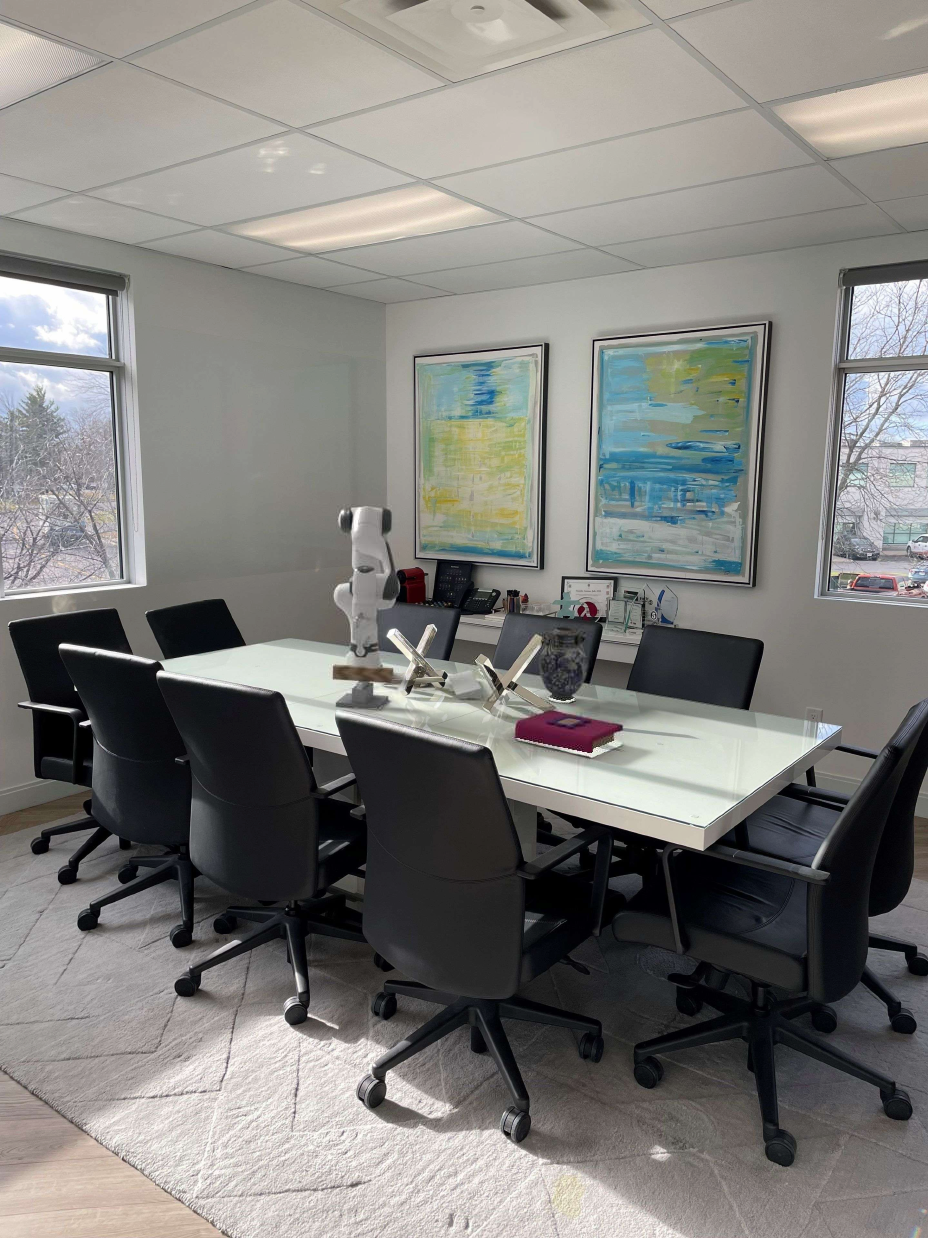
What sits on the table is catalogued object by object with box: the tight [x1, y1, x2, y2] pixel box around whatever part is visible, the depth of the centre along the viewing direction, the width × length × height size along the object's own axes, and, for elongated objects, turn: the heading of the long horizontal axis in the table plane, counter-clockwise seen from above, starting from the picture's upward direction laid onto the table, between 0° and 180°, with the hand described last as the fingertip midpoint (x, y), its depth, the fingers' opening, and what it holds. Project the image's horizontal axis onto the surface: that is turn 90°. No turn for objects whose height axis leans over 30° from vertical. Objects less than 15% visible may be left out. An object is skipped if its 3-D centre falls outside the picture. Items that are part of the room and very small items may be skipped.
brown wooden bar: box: [332, 664, 394, 684], centre depth 328 cm, size 22×3×5 cm, turn 82°
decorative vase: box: [538, 626, 589, 701], centre depth 343 cm, size 21×19×28 cm
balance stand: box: [335, 681, 390, 710], centre depth 329 cm, size 15×16×8 cm
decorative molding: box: [447, 669, 485, 700], centre depth 358 cm, size 34×5×10 cm
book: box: [514, 709, 624, 753], centre depth 286 cm, size 21×28×8 cm
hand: (363, 648), depth 327 cm, fingers open, 8 cm apart
